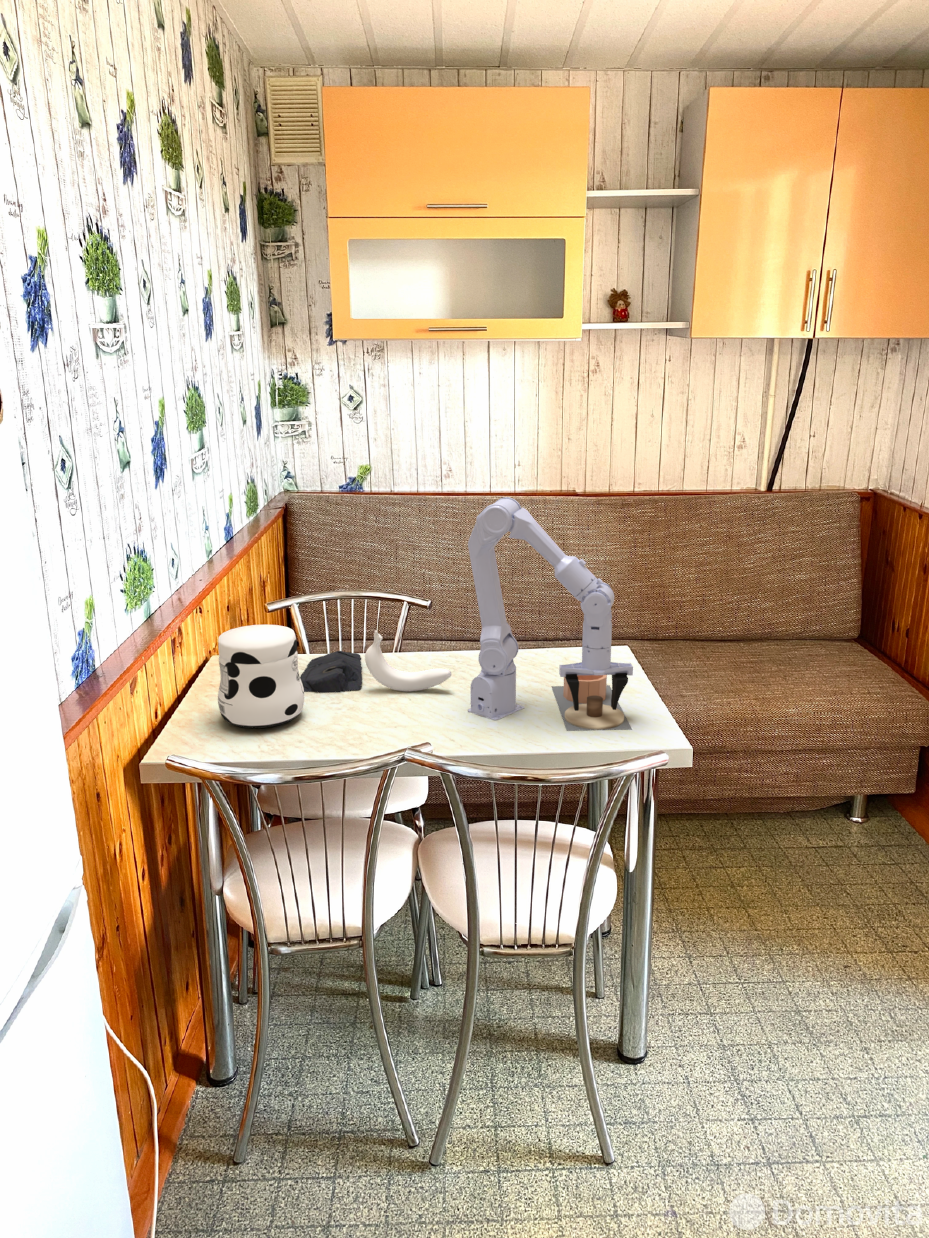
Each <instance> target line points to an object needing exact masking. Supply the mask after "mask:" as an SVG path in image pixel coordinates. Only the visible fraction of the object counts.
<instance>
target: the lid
mask: <svg viewBox="0 0 929 1238" xmlns="http://www.w3.org/2000/svg"><path fill="white" fill-rule="evenodd" d="M622 711H623V710H622ZM622 711H621V710H619V709H617V708H616V710H613V709H612V707H611V706H608V705H603V698H602V697H600V696H595V695H593V696H588V697H587V704H579V710H578V711H575V709H574V706H572V707H570V708H568V709H567V710H566V711H565V720H566V721H567V722H568V723H570V724H572V725H574V726H577V727H580V728H585V729H595V730H594V731H602V730H601V729H610V728H614V727H617V726H619V725H621V724H622V723H623V722H624V714H625V713H624V714H623V712H624V711H623V712H622Z"/></svg>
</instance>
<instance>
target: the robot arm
mask: <svg viewBox="0 0 929 1238" xmlns="http://www.w3.org/2000/svg"><path fill="white" fill-rule="evenodd" d="M508 532H509V535H508V538H509V539H513V540H514V539H515V540H521V541H522V540H523V541H525V542H527V543H528V544H529V545H530V546H531V547H532V548H533V549H534V550H535V551H536V552H537V553H538V554H539V555H540V556H542V557H543V559H544V560H546V561H547V562H548V563H549V564H550V565H551V566H552V567H553V569H554V578H555V579H556V580H557V581H558V582H559V583H560V584H561V585H562V586H563V587H564V589H566V590H567V591H568V592H569V593H570V594H571V595H572V596H573V597H574V598H575V599H576V600H577V601H579V602H580V608H581V611H582V613H583V621H582V641H581V642H582V643H581V644H582V645H581V662H575V663H574V662H573V663H569V664H559V669H558V670H559V671H558V672H559V677H560V678H564V677H565V678H566V681H567V683H568V685H569V688H570V691H571V694H572V698H573V705H574V709H575V711H578V710H579V701H578V693H579V681H578V676H577V675H607V676H610V675H611V689H612V696H611V707H612V709H613V710H616V708H617V704H618V703H619V701H620V697H621V695H622V694H623V691H624V689H625V688H626V686H627V685H628V683H629V677H628V676H633V673H634V666H633V664H632V663H630V662H629V663H627V662H626V663H625V662H624V663H623V662H614V661H611V660H612V636H613V634H612V633H613V622H612V618H613V615H612V607H613V605H614V602H615V593H614V591H613V589H612V588H611V585H609V584H608V583H606V582H604V581H603V580H602V579H601V578H600V577H598V578H597V577H596V576H595V575H594V573H592V572H591V570H590V569H588V567H586V564H587V561H585V560H584V559H583V558H580V559H579V558H578V557H577V556H575V555H567V554H566V553H565V552H563V550H562V549H561V547H559V546H558V544H557V543H556V542H555V541H554V540H553V538H552V537H551V536H550V535H549V534H548V533H547V531H545V529H544V528H543V527H542V526H541V525H540V524H539V523H538V522H537V520H536V519H535V518H534V517H533V516H532V515H531V513H530V511H529V510H527V509H526V508H525V507H521V504H520V503H519V502H518V501H517V500H516V499H515V498H512V497H509V496H506V497H501V498H499V499H497V500H496V501H495V502H493V503H492V504H489V505H487V506H486V507H485V508H484V509H483V510H482V511H481V512H480V513H479V514H478V515H477V516H476V519H475V524H474V525H473V528H472V531H471V534H470V535H469V538H468V541H467V548H468V555H469V560H470V561H469V562H470V566H471V571H472V577H473V582H474V588H475V595H476V599H477V606H478V611H479V617H480V624H481V632H480V637H479V638H480V639H479V643H480V651H479V654H478V662H479V663H478V664H479V666H480V668H481V669H480V672H479V674H478V675H477V676H475V677H474V678H472V681H471V683H470V708H468V709H467V712H468V713H472V714H474V715H476V716H480V717H483V718H487V719H489V720H492V721H499V720H501V719H502V718H505V717H509V716H510V715H512V714H515V713H517V712H519V711H522V710H523V709H525V706H524V705H522V704H518V703H517V700H516V699H517V666H516V664H515V662H514V659H515V658H516V657H517V656H518V654H519V642H518V641H517V639H516V638H515V636H514V635H513V632H512V627H511V625H510V624H509V623H508V621H507V617H506V611H505V605H504V599H503V594H502V593H503V591H502V588H501V587H502V586H501V581H500V574H499V568H498V563H497V557H496V556H497V555H496V550H495V548H496V546H497V545H498V544H499V542H500V540H501V539H502V538H503V537H504V536H505V535H506V534H507V533H508Z"/></svg>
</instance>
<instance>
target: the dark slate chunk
mask: <svg viewBox="0 0 929 1238" xmlns="http://www.w3.org/2000/svg"><path fill="white" fill-rule="evenodd" d="M362 673H363V667H362V657H361V655H360V654H359V653H357V652H356V653H355V652H351V651H350V652H349V651H348V652H347V651H343V650H336V651H333V652H329V653H327V654H325V655H322V656H318V657H316V658H312V659H311V660H310V661H309V662H308V664H307V665H306V668H304V671H303V672H302V673H301V674H300V675H299V676H300V679H301V682H302V684H303V688H304V693H322V694H323V693H325V694H328V693H329V694H330V693H344V692H345V693H346V692H351V691H359V690H361V689H362V685H363V674H362Z"/></svg>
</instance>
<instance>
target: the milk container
mask: <svg viewBox="0 0 929 1238" xmlns="http://www.w3.org/2000/svg"><path fill="white" fill-rule="evenodd" d="M217 646H218V655H219V656H218V664H219V673H220V681H219V687H218V691H217V692H218V693H217V704H218V709H219V712H220V715H221V717H222V719H224V720H225V722H227V723H228V724H230V725H232V726H236V727H239V728H245V729H261V728H262V729H263V728H271V727H272V728H273V727H276V726H280V725H284V724H286V723H289V722H291V721H292V720H294V719H296V718H297V717H298V716H299V715H300V714H301V713H302V712H303V711H302V710H303V709H304V704H305V692H304V688H303V684H302V682H301V679H300V676H301V675H300V673H299V663H298V662H299V660H298V659H299V656H298V654H299V653H298V642H297V637H296V633H295V631H294V629H292V628H290V627H288V626H285V625H284V626H283V625H278V624H252V625H245V626H239V627H236V628H231V629H229V630H226V631H224V632H222V633H221V634H220V635H219V636H218V644H217Z"/></svg>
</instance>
